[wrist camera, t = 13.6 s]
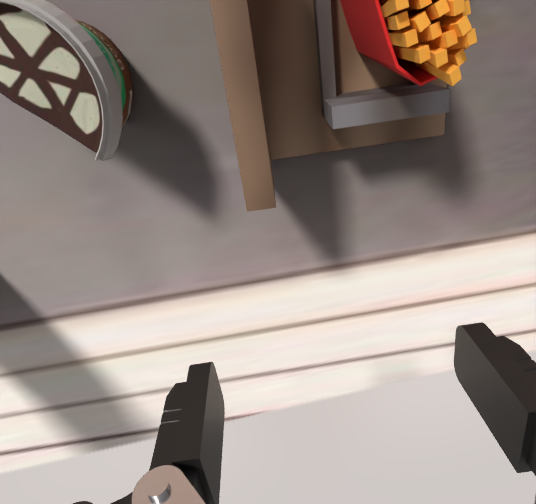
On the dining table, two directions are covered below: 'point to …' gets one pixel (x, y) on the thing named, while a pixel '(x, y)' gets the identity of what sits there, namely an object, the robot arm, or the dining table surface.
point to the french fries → (413, 36)
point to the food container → (64, 73)
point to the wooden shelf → (310, 88)
